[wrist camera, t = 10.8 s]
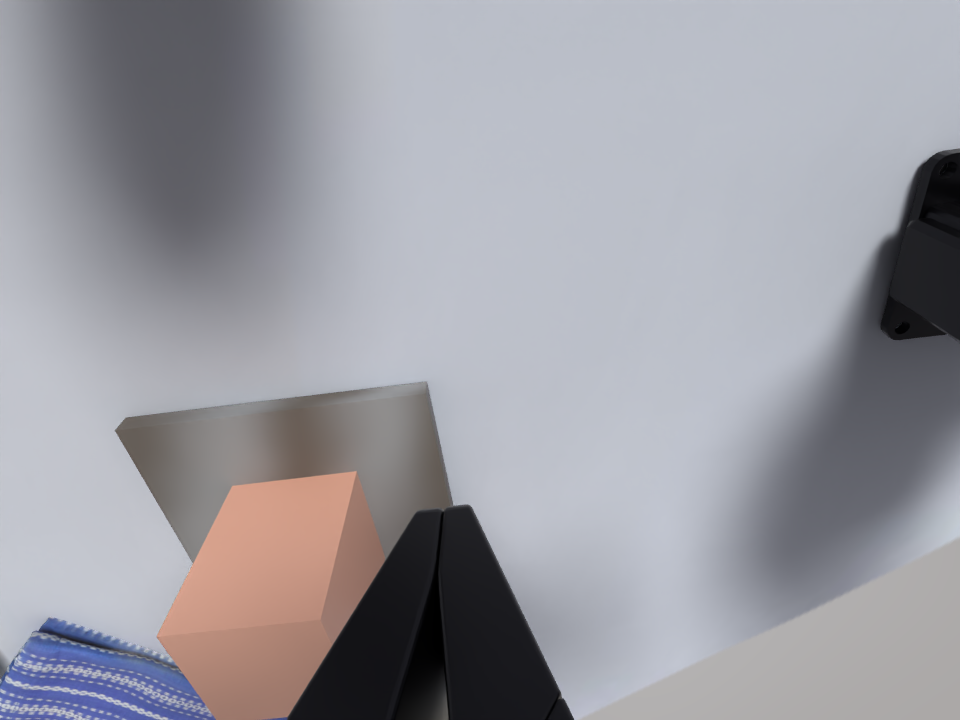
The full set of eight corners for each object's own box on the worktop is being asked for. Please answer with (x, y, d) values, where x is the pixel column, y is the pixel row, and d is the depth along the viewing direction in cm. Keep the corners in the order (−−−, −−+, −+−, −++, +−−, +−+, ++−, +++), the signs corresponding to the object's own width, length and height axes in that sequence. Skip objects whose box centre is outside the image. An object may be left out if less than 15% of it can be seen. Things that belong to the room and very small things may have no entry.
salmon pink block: (356, 471, 23) (320, 619, 17) (385, 557, 26) (361, 710, 20) (232, 485, 23) (156, 636, 18) (273, 569, 26) (219, 723, 20)
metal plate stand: (426, 381, 22) (413, 501, 16) (470, 583, 28) (470, 719, 22) (125, 417, 22) (16, 545, 17) (233, 607, 28) (178, 745, 23)
